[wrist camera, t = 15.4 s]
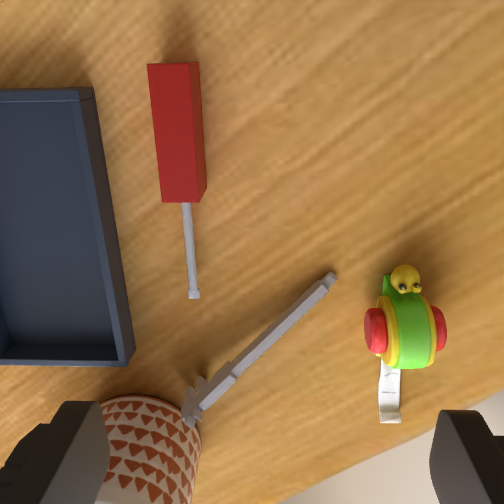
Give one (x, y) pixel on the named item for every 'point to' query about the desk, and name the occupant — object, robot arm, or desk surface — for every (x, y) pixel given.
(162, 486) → the planter
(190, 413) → the caliper
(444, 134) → the desk surface
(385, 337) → the toy measuring tape
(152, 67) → the screwdriver
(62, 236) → the tray
